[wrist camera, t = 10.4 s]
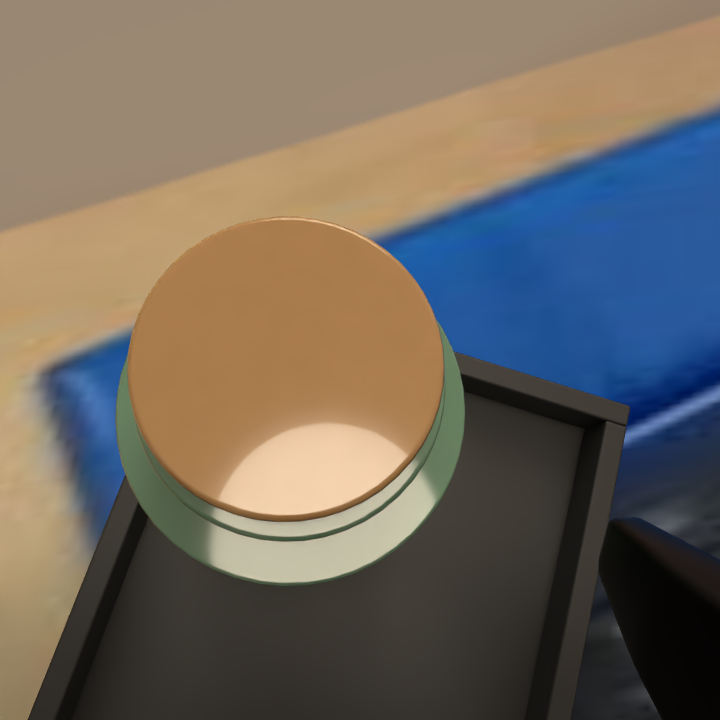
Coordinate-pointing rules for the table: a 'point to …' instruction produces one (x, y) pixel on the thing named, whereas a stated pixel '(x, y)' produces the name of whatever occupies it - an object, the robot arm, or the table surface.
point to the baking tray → (371, 594)
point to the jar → (289, 403)
